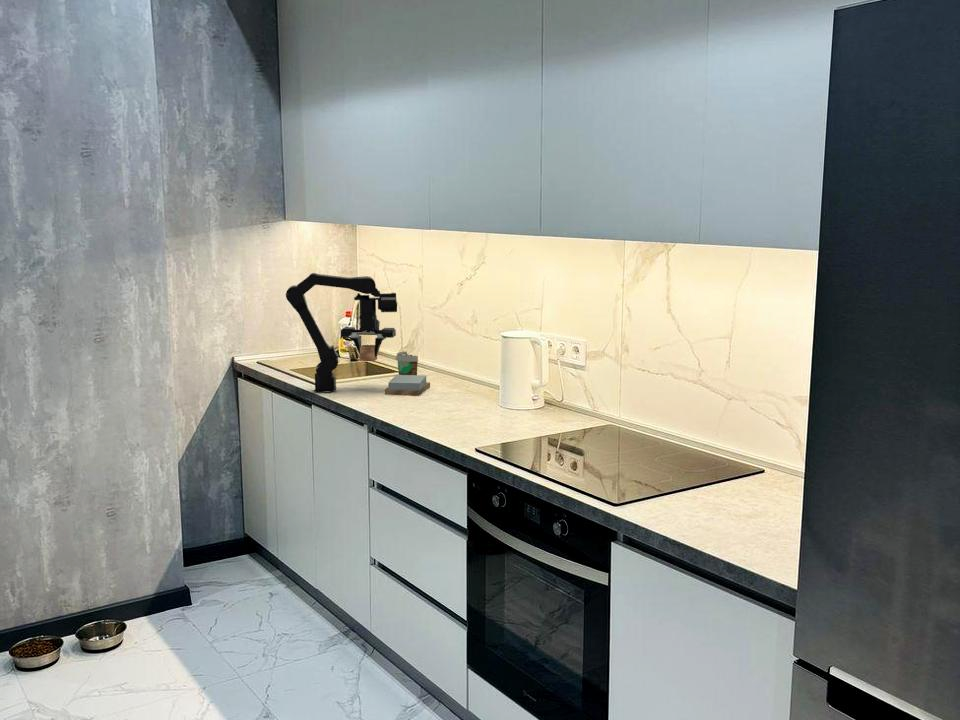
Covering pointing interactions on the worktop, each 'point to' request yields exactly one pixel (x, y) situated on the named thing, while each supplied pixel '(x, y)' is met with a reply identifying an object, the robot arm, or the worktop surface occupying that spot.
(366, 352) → the terracotta block
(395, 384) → the slate grey slab
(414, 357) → the food container
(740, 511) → the worktop surface
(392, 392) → the walnut slab
